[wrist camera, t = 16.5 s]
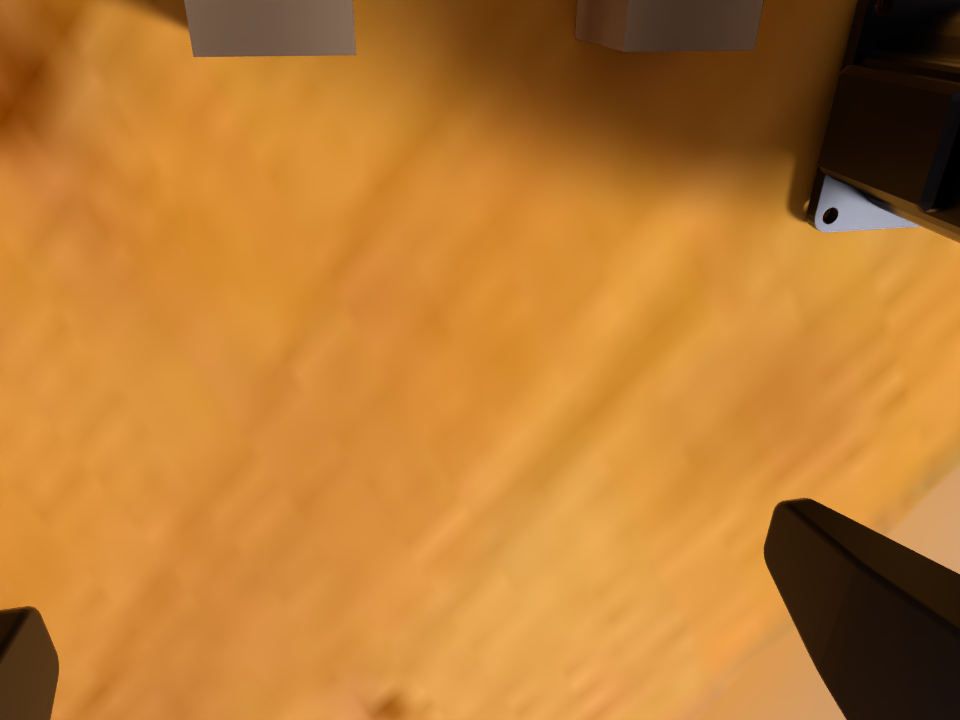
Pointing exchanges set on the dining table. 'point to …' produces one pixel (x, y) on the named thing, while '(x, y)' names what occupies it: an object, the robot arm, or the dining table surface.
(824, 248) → the dining table surface
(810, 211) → the robot arm
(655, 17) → the pair of brown blocks
